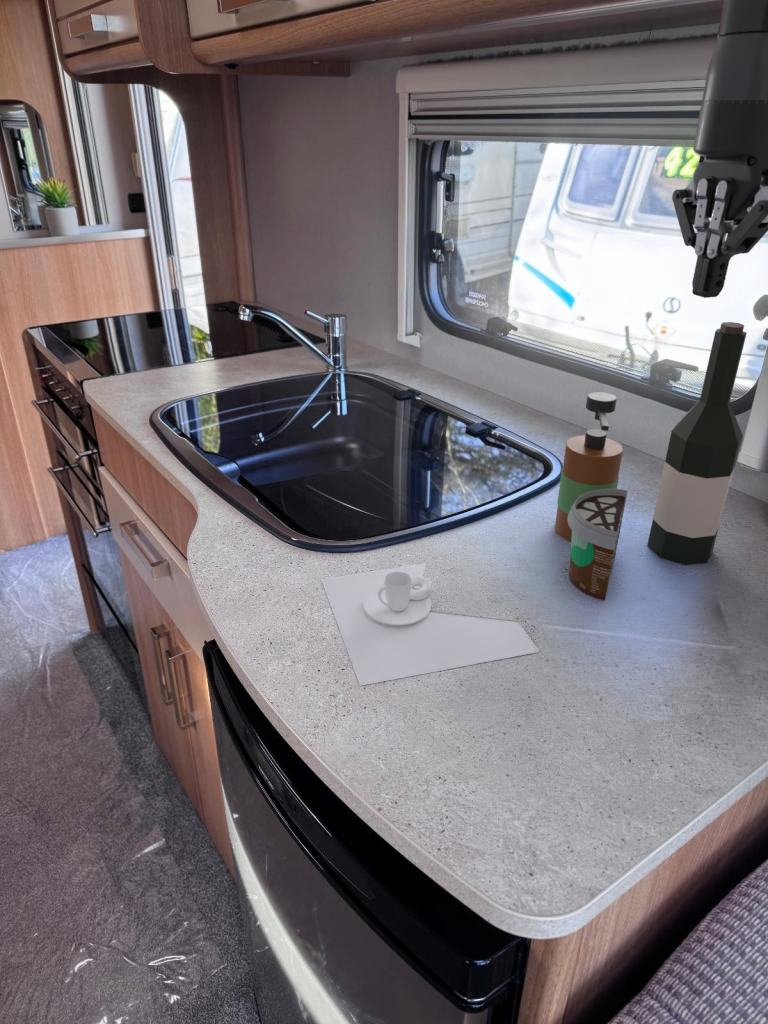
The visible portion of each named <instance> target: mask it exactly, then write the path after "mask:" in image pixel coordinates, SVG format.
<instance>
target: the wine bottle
mask: <svg viewBox="0 0 768 1024" xmlns="http://www.w3.org/2000/svg"><path fill="white" fill-rule="evenodd" d="M744 328H745V325H744V324H742V323H740V322H733V321H726V322H725V321H723V322H721V324H720V327H719V328H717V329H716V330H715V331H714V334H713V335H714V336H713V340H712V344H711V347H710V348H711V349H710V352H709V356H708V357H709V358H708V362H707V365H706V366H707V367H706V371H705V375H704V380H703V384H702V388H701V392H700V398H699V400H697V402H696V403H695V404H694V405H693V406H692V407H691V408H690V409H689V410H688V411H687V413H685V415H684V416H683V417H682V418H681V419H680V420H679V421H678V422H677V423H676V424H675V426H674V427H673V428H672V430H671V432H670V437H669V441H668V446H667V450H666V454H665V461H664V465H663V469H662V474H661V478H660V484H659V489H658V494H657V498H656V503H655V508H654V512H653V517H652V522H651V526H650V530H649V536H648V541H647V544H646V545H647V548H649V549H650V550H651V551H652V552H653V553H654V554H655V555H656V556H657V557H658V558H659V559H661V560H665V561H667V562H668V561H669V562H671V563H672V562H673V563H675V564H679V565H683V566H692V565H693V566H694V565H701V564H707V563H708V562H709V560H710V558H711V557H712V554H713V551H714V546H715V544H716V540H717V537H718V532H719V529H720V524H721V521H722V518H723V515H724V514H723V513H724V509H725V506H726V503H727V498H728V494H729V490H730V487H731V484H732V479H733V475H734V471H735V467H736V464H737V460H738V456H739V453H740V449H741V445H742V441H743V438H744V435H743V432H742V430H741V428H740V425H739V422H738V419H737V417H736V415H735V412H734V410H733V407H732V405H731V398H732V395H733V390H734V386H735V382H736V378H737V375H738V370H739V366H740V362H741V358H742V354H743V349H744V347H745V346H744V345H745V343H746V338H747V332H746V331H744Z"/></svg>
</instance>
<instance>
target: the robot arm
mask: <svg viewBox="0 0 768 1024" xmlns="http://www.w3.org/2000/svg"><path fill="white" fill-rule="evenodd" d="M696 125H697V126H696V131H695V137H694V142H693V148H692V152H693V154H694V155H696V156H699V160H698V163H697V166H696V167H695V169H694V170H693V174H692V181H691V182H690V183H689V184H688V185H687V186H686V187H685V188H684V189H683V188H681V189H675V190H674V191H673V192H672V195H671V199H672V203H673V207H674V210H675V215H676V217H677V221H678V225H679V229H680V232H681V237H682V240H683V243H684V245H685V246H686V247H692V249H694V253H695V255H696V261H695V268H694V272H693V277H692V281H691V284H692V285H691V286H692V294H693V295H694V296H698V297H701V298H703V299H708V298H709V299H710V298H717V297H718V296H719V295H720V294H721V292H722V291H723V289H724V287H725V282H726V279H727V277H726V276H727V273H728V269H729V264H730V261H731V259H732V258H733V257H734V256H737V255H741V254H748V253H750V251H751V250H752V249H753V248H754V247H755V246H756V245H757V244H758V243H759V242H760V240H761V239H763V237H765V235H766V234H767V232H768V0H723V5H722V8H721V15H720V19H719V25H718V31H717V38H716V39H715V45H714V48H713V51H712V54H711V57H710V62H709V65H708V68H707V73H706V76H705V83H704V89H703V93H702V100H701V105H700V109H699V115H698V120H697V124H696Z"/></svg>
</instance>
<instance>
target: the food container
mask: <svg viewBox="0 0 768 1024" xmlns="http://www.w3.org/2000/svg"><path fill="white" fill-rule="evenodd" d="M627 496H628V489H621V488H617V489H599V490H593V491H590V492H587V493H584V494H582V495H581V496H579V497H578V498H577V499H576V501H575V502H574V503H573V505H572V507H571V510H570V512H569V515H568V518H567V521H568V525H569V527H570V528H571V529H572V538H571V542H570V554H569V555H570V556H569V568H568V569H569V570H568V578H569V580H570V582H571V584H572V585H573V586H574V587H575V589H577V590H578V591H580V592H581V593H583V594H584V595H586V596H589V597H591V598H594V599H597V600H600V601H606V599H607V594H608V590H609V587H610V581H611V577H612V572H613V568H614V565H615V559H616V554H617V549H618V543H619V540H620V539H619V538H620V534H621V527H622V523H623V517H624V513H625V512H624V511H625V507H626V502H627Z"/></svg>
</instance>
